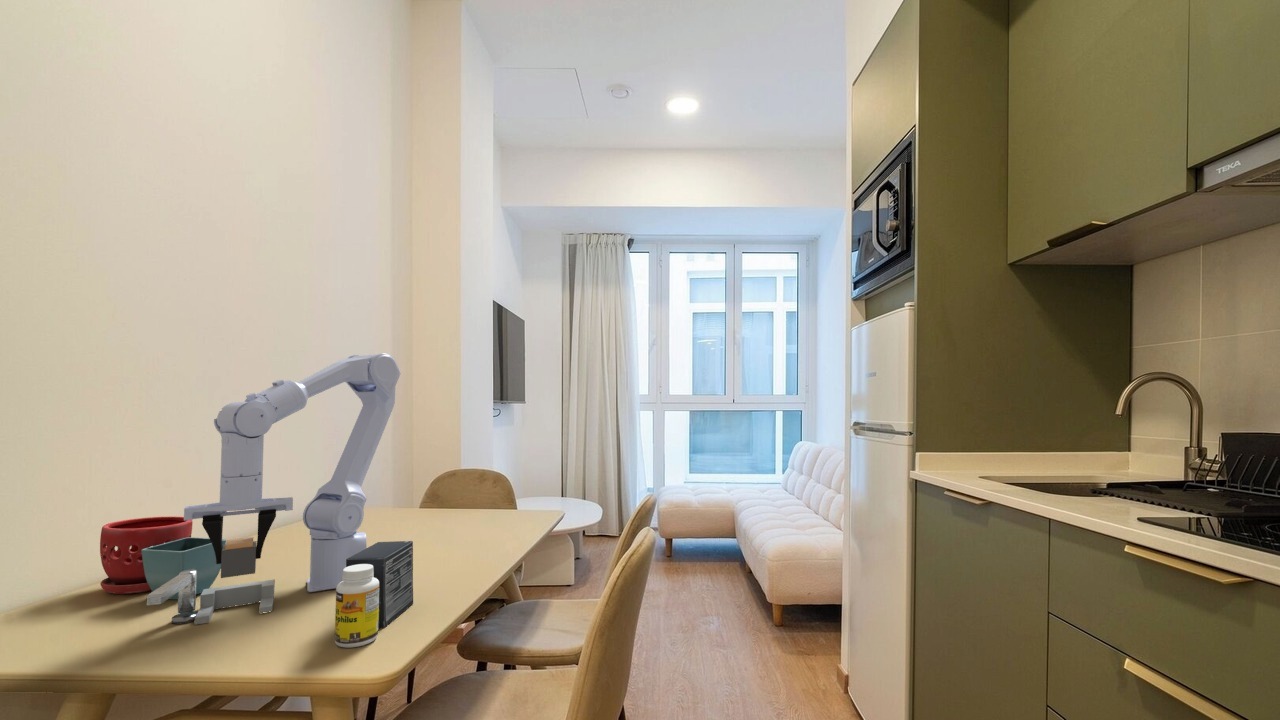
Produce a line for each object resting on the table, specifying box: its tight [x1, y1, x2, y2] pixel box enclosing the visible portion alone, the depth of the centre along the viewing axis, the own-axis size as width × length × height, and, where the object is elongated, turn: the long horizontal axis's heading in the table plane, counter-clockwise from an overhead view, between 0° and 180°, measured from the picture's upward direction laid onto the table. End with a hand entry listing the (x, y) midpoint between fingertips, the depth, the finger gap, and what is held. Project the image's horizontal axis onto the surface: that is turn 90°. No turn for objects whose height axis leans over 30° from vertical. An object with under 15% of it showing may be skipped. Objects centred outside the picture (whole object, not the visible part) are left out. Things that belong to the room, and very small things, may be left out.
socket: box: [194, 579, 276, 626], centre depth 96 cm, size 10×8×3 cm
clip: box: [146, 570, 197, 614], centre depth 87 cm, size 12×2×6 cm, turn 18°
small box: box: [346, 540, 414, 629], centre depth 93 cm, size 11×6×10 cm, turn 178°
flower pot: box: [141, 536, 227, 601], centre depth 103 cm, size 9×9×9 cm
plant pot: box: [99, 516, 194, 595], centre depth 109 cm, size 13×13×12 cm
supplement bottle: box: [334, 564, 379, 649], centre depth 83 cm, size 6×6×10 cm
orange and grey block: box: [220, 536, 257, 579], centre depth 94 cm, size 4×4×5 cm
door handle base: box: [171, 610, 199, 625], centre depth 91 cm, size 4×4×1 cm
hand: (239, 559), depth 94 cm, fingers closed on orange and grey block, 4 cm apart
